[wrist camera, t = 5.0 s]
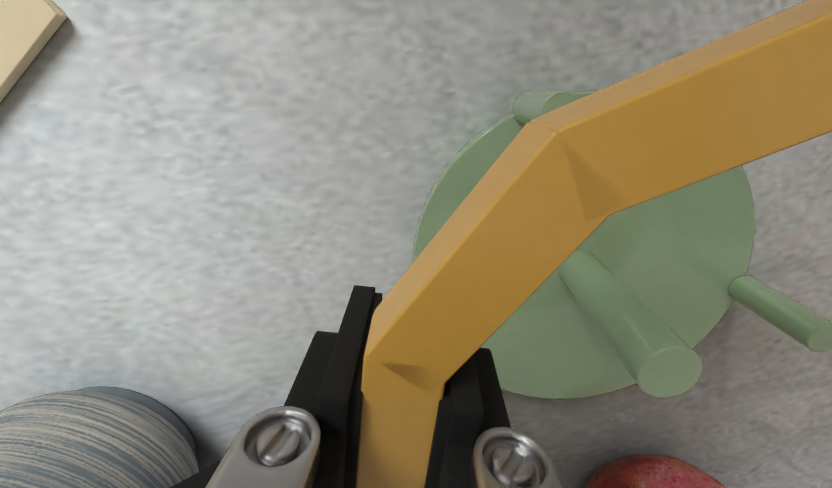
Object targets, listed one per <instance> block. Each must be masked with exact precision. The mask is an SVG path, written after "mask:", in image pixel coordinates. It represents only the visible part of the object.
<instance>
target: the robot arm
mask: <svg viewBox="0 0 832 488" xmlns="http://www.w3.org/2000/svg"><path fill="white" fill-rule="evenodd" d="M381 302H382V294H381V293H375V287H366V286H356V285H355V286H354V288H353V291H352V294H351V297H350V300H349V303H348V306H347V309H346V311H345V314H344V317H343V320H342V323H341V326H340V329H339V332H338V333H333V332H323V331H317V332H316V334H315V335H314V338H313V340H312V342H311V344H310V347H309V349H308V351H307V354H306V356H305V358H304V361H303V363H302V365H301V368H300V370H299V372H298V374H297V377H296V379H295V381H294V384H293V386H292V388H291V391H290V393H289V395H288V398H287V400H286V402H285V405H284V406H280V407H275V408H271V409H267V410H265V411H263V412H261V413H259V414H256V415H255V416H254V417H252V418H251V419H250V420H248V421H247V422H246V423H245V424H244V426H243V427H242V428H241V429H240V431H239V432H238V433H237V435H236V437H235V438H234V440H233V442H232V444H231V445H230V447H229V449H228V450H227V452H226V454H225V455H224V457H223V459H222V460H220V461H218V462H216V463H214V464H212V465H211V466H209V467H207V468H205V469H203V470H201V471H199V472H198V473H196V474H194V475H192V476H190V477H188V478H186V479H185V480H183V481H181V482H179V483H177V484H175V485H173V486H172V487H170V488H356V477H357V464H358V450H359V437H360V424H361V411H362V397H363V392H362V391H361V383H362V370H363V357H364V353H365V348H366V343H367V339H368V334H369V330H370V325H371V320H372V316H373V314H374V310H375V309H376V308H377V307H378V305H379V304H380V303H381ZM424 488H563V487H562V484H561V482H560V479H559V477H558V474H557V472H556V469H555V467H554V464H553V462H552V460H551V458H550V456H549V454H548V453H547V451H546V450H545V449H544V448H543V447H542V445H541V444H540V443H539V442H538V441H536V440H535V439H534V438H532V437H531V436H529V435H528V434H526V433H524V432H521V431H519V430H517V429H513V428H511V427H510V423H509V419H508V415H507V411H506V407H505V403H504V399H503V395H502V392H501V388H500V384H499V380H498V376H497V372H496V368H495V364H494V360H493V356H492V353H491V350H490V349H489V348H479V349H478V350H477V351H476V352H475V353H474V354H473V355H472V356H471V357H470V358H469V359H468V360H467V361H466V362H465V363H464V364H463V365H462V366H461V367H460V368H459V369H458V370H457V371H456V372H455V373H454V374H453V376H452V377H451V378H450V379H449V380H448V381H447V382H446V383H445V388H444V394H443V398H442V400H439V405H438V411H437V417H436V422H435V428H434V434H433V440H432V445H431V451H430V457H429V463H428V468H427V474H426V480H425V486H424Z"/></svg>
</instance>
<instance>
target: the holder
mask: <svg viewBox="0 0 832 488" xmlns="http://www.w3.org/2000/svg"><path fill="white" fill-rule="evenodd" d="M597 91H599V90H593V91H582V92H569V91H527V92H523V93H522V94H520V95H519V96H518V97H517V98H516V99H515V101H514V103H513V108H512V111H513V112H511V113H509V114H507V115H505V116H504V117H502V118H500V119H498V120H497V121H495V122H494V123H492V124H491V125H490V126H488V127H487V128H485V129H484V130H482V131H481V132H479V133H478V134H477V135H476V136H475V137H474V138H473V139H472V140H471V141H469V142H468V143H467V144H466V145H465V146H464V147H463V148H462V149H461V150H460V151H459V152H458V153H457V154H456V156H455V157H454V158H453V159H452V160H451V161H450V162H449V164H448V165H447V166H446V167H445V169H444V170H443V172H442V173H441V175H440V176H439V178H438V179H437V181H436V182H435V184H434V186H433V188H432V190H431V192H430V194H429V196H428V198H427V200H426V202H425V204H424V207H423V210H422V213H421V216H420V219H419V221H418V225H417V230H416V236H415V241H414V251H413V262H414V261H415V260H416V259H417V257H418V256H419V255H420V254H421V253H422V251H423V250H424V249H425V248H426V246H427V245H428V244H429V243H430V241H431V240H432V239H433V238H434V237H435V235H436V234H437V233H438V232H439V230H440V229H441V228H442V227H443V225H444V224H445V223H446V222H447V221H448V219H449V218H450V217H451V216H452V214H453V213H454V212H455V211H456V210H457V208H458V207H459V206H460V205H461V203H462V202H463V201H464V200H465V198H466V197H467V196H468V195H469V194H470V192H471V191H472V190H473V189H474V187H475V186H476V185H477V184H478V182H479V181H480V180H481V179H482V178H483V176H484V175H485V174H486V173H487V171H488V170H489V169H490V168H491V166H492V165H493V164H494V163H495V162H496V160H497V159H498V158H499V157H500V155H501V154H502V153H503V152H504V151H505V149H506V148H507V147H508V146H509V144H510V143H511V142H512V141H513V139H514V138H515V137H516V136H517V135H518V133H519V132H520V131H521V130H522V128H523V127H524V126H525V125H526V124H527V123H530V121H531V120H532V119H535V118H537V117H539V116H541V115H544V114H546V113H548V112H551V111H553V110H555V109H558V108H560V107H562V106H565V105H567V104H569V103H571V102H574V101H576V100H578V99H581V98H583V97H585V96H588V95H590V94H592V93H595V92H597ZM754 233H755V214H754V203H753V198H752V194H751V189H750V185H749V182H748V180H747V177H746V175H745V172H744V170H743V167H742V165H741V166H739V167H736V168H733V169H731V170H728V171H725V172H723V173H720V174H718V175H715V176H712V177H710V178H707V179H704V180H702V181H699V182H696V183H694V184H691V185H688V186H686V187H683V188H680V189H678V190H675V191H673V192H670V193H667V194H665V195H662V196H659V197H657V198H654V199H651V200H649V201H646V202H643V203H641V204H638V205H635V206H633V207H630V208H628V209H625V210H622V211H620V212H617V213H614V214H612V215H609V217H608V218H607V219H606V220H605V221H604V222H603V223H602V224H601V225H600V226H599V227H598V228H597V229H596V230H595V231H594V232H593V233H592V234H591V235H590V236H589V237H588V238H587V239H586V240H585V241H584V242H583V243H582V244H581V245H580V246H579V247H578V248H577V249H576V250H575V251H574V252H573V253H572V254H571V255H570V256H569V257H568V258H567V259H566V260H565V261H564V262H563V263H562V264H561V265H560V266H559V267H558V268H557V270H556V271H555V272H554V273H553V274H552V275H551V276H550V277H549V278H548V279H547V280H546V281H545V282H544V283H543V284H542V285H541V286H540V287H539V288H538V289H537V290H536V291H535V292H534V293H533V294H532V295H531V296H530V297H529V298H528V299H527V300H526V301H525V302H524V303H523V304H522V305H521V306H520V307H519V308H518V309H517V310H516V311H515V312H514V313H513V314H512V315H511V316H510V317H509V318H508V319H507V320H506V321H505V323H504V324H503V325H502V326H501V327H500V328H499V329H498V330H497V331H496V332H495V333H494V334H493V335H492V336H491V337H490V338H489V339H488V340H487V341H486V342H485V343H484V344H483V345H482V346H481V347H480V348H489V349H490V350H491V353H492V356H493V360H494V364H495V368H496V372H497V376H498V380H499V384H500V388H501V389H503V390H505V391H509V392H512V393H516V394H520V395H524V396H530V397H536V398H546V399H573V398H583V397H590V396H597V395H601V394H605V393H609V392H613V391H617V390H620V389H623V388H625V387H628V386H631V385H634V384H636V383H637V385H638V386H639V387H640V389H641V390H642V391H644V392H645V393H647V394H648V395H650V396H653V397H657V398H670V397H674V396H678V395H680V394H683V393H685V392H686V391H688V390H689V389H691V388H692V387H693V386H694V385H695V384H696V383H697V381H698V380H699V378H700V376H701V374H702V362H701V359H700V357H699V356H698V354H697V353H696V352H695V351H694V350H693V348H694V347H695V346H696V345H697V344H698V343H699V342H701V341H702V340H703V339H704V338H705V337H706V336H707V334H708V333H709V332H710V331H711V330H712V329H713V328H714V327H715V325H716V324H717V323H718V322H719V321H720V319H721V318H722V316H723V315H724V314H725V312H726V311H727V309H728V308H729V306H730V305H731V303H732V301H733V300H734V299H735V300H736V301H738V302H739V303H741V304H742V305H744V306H745V307H747V308H748V309H750V310H751V311H753V312H754V313H756V314H757V315H759V316H760V317H762V318H763V319H765V320H766V321H768V322H769V323H771V324H772V325H774V326H775V327H777V328H778V329H780V330H781V331H783V332H784V333H786V334H787V335H789V336H790V337H792V338H793V339H795V340H796V341H798V342H799V343H801V344H802V345H804V346H805V347H807V348H808V349H810V350H811V351H815V352H825V351H828V350H830V349H832V322H830V321H829V320H827V319H825V318H823V317H822V316H820V315H818V314H816V313H815V312H813V311H811V310H809V309H807V308H806V307H804V306H802V305H800V304H799V303H797V302H795V301H793V300H792V299H790V298H788V297H786V296H784V295H783V294H781V293H779V292H777V291H776V290H774V289H772V288H770V287H769V286H767V285H765V284H763V283H761V282H760V281H758V280H756V279H754V278H753V277H750V276H745V274H746V271H747V269H748V266H749V262H750V258H751V253H752V249H753V243H754Z"/></svg>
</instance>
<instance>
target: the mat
mask: <svg viewBox="0 0 832 488" xmlns="http://www.w3.org/2000/svg"><path fill="white" fill-rule="evenodd" d="M66 18H67V17H66V15H65V14H64V13H63V12H62V11H61V10H60V9H59V8H58V7H57V6H56V5H55V4H54V3H53V2H52V1H51V0H0V102H1V101H2V100H3V98H4V97H5V96H6V94H7V93H8V92H9V91H10V89H11V88H12V87H13V86H14V84H15V83H16V82H17V80H18V79H19V78H20V77H21V75H22V74H23V73H24V72H25V70H26V69H27V68H28V66H29V65H30V64H31V63H32V61H33V60H34V59H35V57H36V56H37V55H38V54H39V52H40V51H41V50H42V49H43V47H44V46H45V45H46V43H47V42H48V41H49V40H50V38H51V37H52V36H53V35H54V33H55V32H56V31H57V29H58V28H59V27H60V26H61V24H62V23H63V22H64V21H65V19H66Z"/></svg>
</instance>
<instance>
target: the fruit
mask: <svg viewBox="0 0 832 488" xmlns="http://www.w3.org/2000/svg"><path fill="white" fill-rule="evenodd" d="M586 488H726V487H725V486H723V485H722V484H721V483H720V482H718V481H717V480H715V479H714V478H712V477H711V476H709V475H708V474H706V473H704V472H703V471H701V470H699V469H698V468H696V467H694V466H692V465H690V464H688V463H686V462H684V461H681V460H679V459H676V458H673V457H668V456H656V455H631V456H625V457H621V458H619V459H616V460H614V461H612V462H609V463H607V464H605V465H603V466H601V467H600V468H599V469H598V470H597V471H595V472H594V473H593V475H592V476H591V478H590V480H589V482H588V484H587V487H586Z"/></svg>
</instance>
